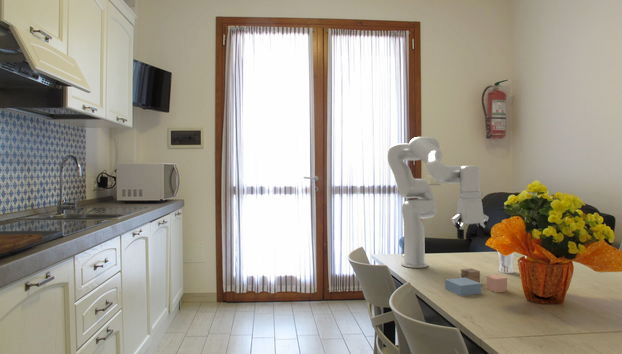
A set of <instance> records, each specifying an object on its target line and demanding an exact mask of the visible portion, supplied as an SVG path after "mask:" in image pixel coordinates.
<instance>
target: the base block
mask: <svg viewBox="0 0 622 354" xmlns="http://www.w3.org/2000/svg"><path fill="white" fill-rule="evenodd" d="M444 288H445V290H447V291H449V292H451V293H452V294H455V295H457V296H460V297H464V296H465V297H466V296H471V295H473V296H474V295H480V294H482V283H481V282H480V283H478V282H476V281H473V280H470V279H468V278H461V277H457V278H448V279H447V278H446V279H444Z"/></svg>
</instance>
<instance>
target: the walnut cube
mask: <svg viewBox="0 0 622 354" xmlns="http://www.w3.org/2000/svg"><path fill="white" fill-rule="evenodd" d="M460 272H461V273H460V275H461V276H460V278H468V279H470V280H473V281H476V282H478V283H481V271H480V270H478V269H475V268H472V267H471V268H470V267H469V268H461V269H460Z"/></svg>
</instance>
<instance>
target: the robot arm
mask: <svg viewBox="0 0 622 354" xmlns="http://www.w3.org/2000/svg"><path fill="white" fill-rule="evenodd" d="M442 158H443V151H442V150H441V149H440V143H439V141H438V140H437V139H436V138H435V137H431V136H417V137H413V138H412V139H411V140H410V141H409V143H406V142H405V143H404V142H402V143H401V142H400V143H394V144H392V145H391V146H390V147H389V148H388V151H387V162H388V165H389V167H390V169H391V171H392V174H393V177H394V179H395V183H396V186H397V189H398V192H399V195H400V196H401V197H402V198H404V199H407V200H405V201H404V203H402V205H401V213H402V219H403V234H404V235H403V242H404V244H403V246H404V247H403V249H404V252H403V253H404V254H402V255H401V257H402V258H403V260H402V261H401V262H400V264H401V266H403V267H406V268H413V269H422V268H423V269H424V268H427V267H428V266H429V263H428V262H427V261H425V258H426V257H425V256H426V255H425V254H426V253H425V252H426V251H425V245H426V244H425V240H426V239H425V237H426V236H425V226H424V223H423V222H422V219H423V220H424V219H430V218H434V217H435V216H436V214H437V213H438V207H437V203H436V202H437V201H436V200H435V197H434V194H433V191H432V188H431V185H430V184H429V182H428V180H426V179H424V178H415V177H414V176H413V174H412V169H411V168H410V167H409V166H408V164H407V163H406V162H405V161H422V162H424V163H425V164H426V169H427V172H428V174H429V175H430V176H431V177H432V178H433V179H435V180H436V181H438V182H439V183H441V184H445V185H446V184H448V185H449V184H459V185H460V186H459V192H460V193H459V195H460V196H459V197H460V198H459V199H458V201H457V207H456V215H455V216H453V217H451V221H452V224H453V226H454V227H455V229H456V232H457V233H456V234H457V239H458V240H459V239H460V240H464V239H465V233H464V232H465V230H464V227H465V226H466V225H477V227H476V237H477V238H481V239H484V238H485V233H484V232H485V230H484V229H485V228H486V226H487V224H488V220H489V216H488V215H486V214H485V213H484V209H483V208H484V207H483V202H482V199H481V197H482V193H481V169H480V167H479V166H478V165H452V164H451V165H445V164H443V163H442V162H441V161H442Z"/></svg>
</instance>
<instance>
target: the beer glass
mask: <svg viewBox="0 0 622 354" xmlns="http://www.w3.org/2000/svg"><path fill="white" fill-rule="evenodd" d="M497 255H498V260H499V261H498V262H499V265H498V272H499V273H501V274H514V273H515V271H514V259H515V253H512V254H510V255H508V256H503V255H501V254H500V253H499V252H498V251H497Z"/></svg>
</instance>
